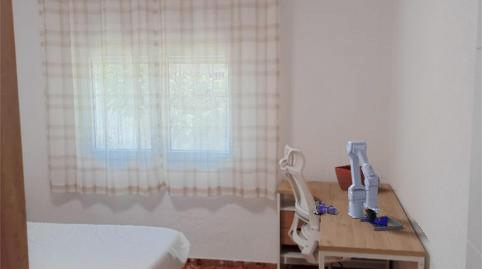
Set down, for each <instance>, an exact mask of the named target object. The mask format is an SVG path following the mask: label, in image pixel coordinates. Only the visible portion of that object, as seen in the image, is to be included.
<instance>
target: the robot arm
mask: <svg viewBox="0 0 482 269" xmlns="http://www.w3.org/2000/svg"><path fill="white" fill-rule="evenodd" d="M367 146H368V145H367V143H366V140H352V141H351V140H349V141H348V142H347V143H346V152H347V156H348V157H349V162H350V164H349V165H351V174H352V185H351V186H350V187H349V188H348V191H347V192H348V193H347V198H348V200H349V202H348V212H347V215H348V216H350V217H352V218H353V219H360V218H367V217H368V219H369V222H368V223H369V224H371V223H374V221H375V217H376V216H377V215H378V214H381V209H380V208H379V206H378V194H379V192H378V191H379V190H378V188H379V186H380V184H381V179H380V177H379V176H378V175H377V174H376V172H375V171H374V167H373V165H372V164H371V163H369V160H368V155H367ZM360 163H361V165H360ZM360 166H362V171H363V174H364V177H365V181H364V182H365V186H363V185H362V184H361V175H360ZM354 189H361V190H354ZM365 212H366V215H365Z"/></svg>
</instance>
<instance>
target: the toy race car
mask: <svg viewBox="0 0 482 269" xmlns="http://www.w3.org/2000/svg"><path fill="white" fill-rule="evenodd" d="M313 201H314V202H315V205H316V209H317V212H318V214H317V215H320V214H325V213H326V212H327V213H329V215H338V214H339V213H338V209H337V208H336V207H334V206H333V205H328V206H326V202H321V203H320V201H319V200H313Z"/></svg>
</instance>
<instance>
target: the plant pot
mask: <svg viewBox="0 0 482 269" xmlns="http://www.w3.org/2000/svg"><path fill="white" fill-rule="evenodd" d="M359 166H360V175H361V184H362V185H363V186H365V182H364V181H365V177H364V174H363V171H362V166H363V165H359ZM334 170H335V176H336V178H337V182H338V185H339V188H340V190H343V191H347V192H348V188H349V187H350V186H351V185H352V174H351V164H347V165H340V166H339V165H338V166H335V167H334ZM354 190H361V189H354Z"/></svg>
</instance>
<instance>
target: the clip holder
mask: <svg viewBox="0 0 482 269" xmlns="http://www.w3.org/2000/svg"><path fill="white" fill-rule="evenodd" d="M386 216H387V217H388V223H389V222H390V223H391V224H393V225H388V226H383V227H380V226H373V229H372V230H373V231H384V230H396V229H397V230H399V229H403V226H404V224H403V223H400V222H399V221H397V220H395V219H394V218H392V217H390V216H388V215H386ZM377 218H378V220H379V221H380V220H381V216H377ZM359 222H367V217H365V218H359Z"/></svg>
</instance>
